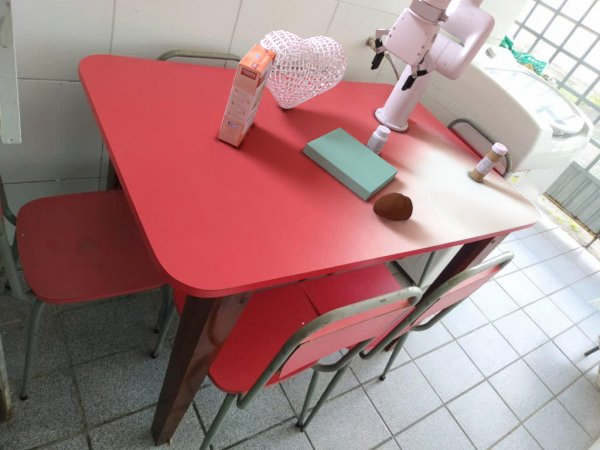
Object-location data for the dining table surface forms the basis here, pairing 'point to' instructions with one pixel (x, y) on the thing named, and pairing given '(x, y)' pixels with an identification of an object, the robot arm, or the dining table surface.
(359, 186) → the foam pad
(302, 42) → the heart
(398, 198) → the potato
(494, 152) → the sprinkles bottle
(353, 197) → the dining table surface
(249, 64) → the cracker box
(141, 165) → the dining table surface
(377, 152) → the pill bottle
